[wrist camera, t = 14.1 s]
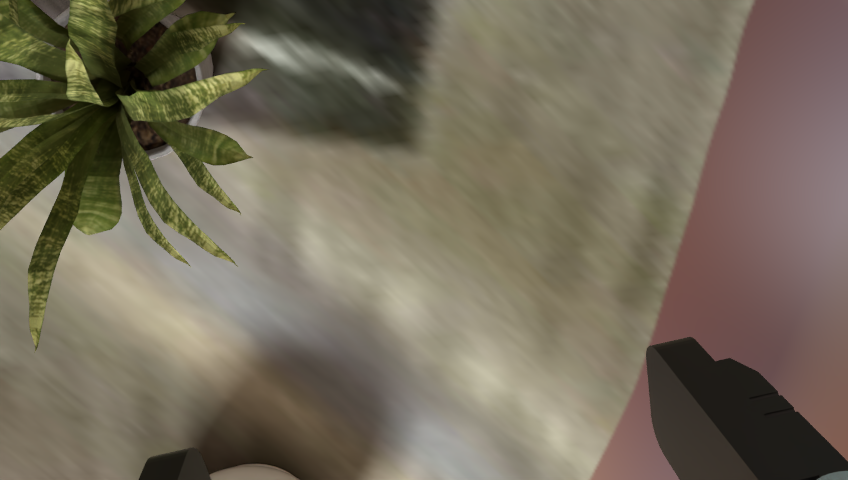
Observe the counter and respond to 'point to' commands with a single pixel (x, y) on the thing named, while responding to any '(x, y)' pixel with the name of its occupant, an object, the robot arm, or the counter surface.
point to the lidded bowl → (253, 473)
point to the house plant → (109, 118)
